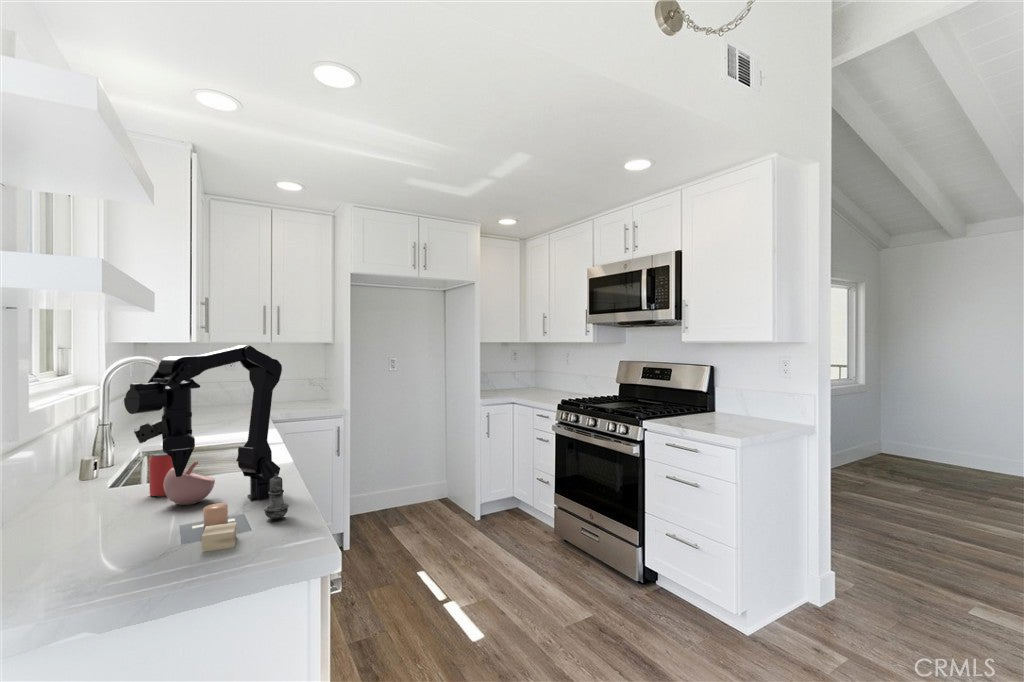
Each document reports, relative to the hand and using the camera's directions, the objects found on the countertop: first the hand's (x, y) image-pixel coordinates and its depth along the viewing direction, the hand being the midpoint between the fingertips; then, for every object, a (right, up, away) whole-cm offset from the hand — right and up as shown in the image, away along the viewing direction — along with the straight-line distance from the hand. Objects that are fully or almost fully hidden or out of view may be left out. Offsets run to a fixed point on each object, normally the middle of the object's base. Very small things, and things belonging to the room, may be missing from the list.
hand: (178, 472), depth 124 cm
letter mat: (+10, -13, -2) cm, 17 cm away
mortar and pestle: (-8, -13, +17) cm, 23 cm away
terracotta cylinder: (+10, -13, -2) cm, 17 cm away
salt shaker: (+23, -13, +3) cm, 26 cm away
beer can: (-21, -13, +26) cm, 36 cm away
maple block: (+17, -13, -12) cm, 25 cm away
